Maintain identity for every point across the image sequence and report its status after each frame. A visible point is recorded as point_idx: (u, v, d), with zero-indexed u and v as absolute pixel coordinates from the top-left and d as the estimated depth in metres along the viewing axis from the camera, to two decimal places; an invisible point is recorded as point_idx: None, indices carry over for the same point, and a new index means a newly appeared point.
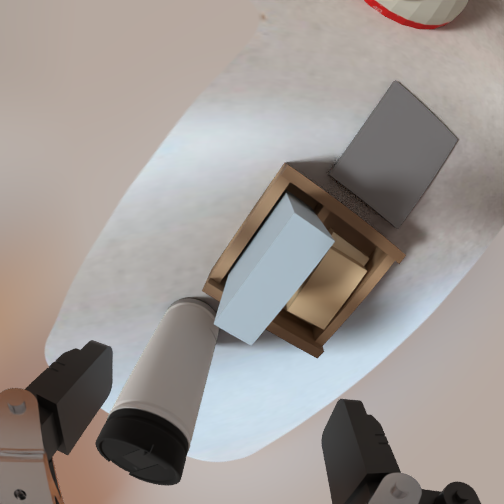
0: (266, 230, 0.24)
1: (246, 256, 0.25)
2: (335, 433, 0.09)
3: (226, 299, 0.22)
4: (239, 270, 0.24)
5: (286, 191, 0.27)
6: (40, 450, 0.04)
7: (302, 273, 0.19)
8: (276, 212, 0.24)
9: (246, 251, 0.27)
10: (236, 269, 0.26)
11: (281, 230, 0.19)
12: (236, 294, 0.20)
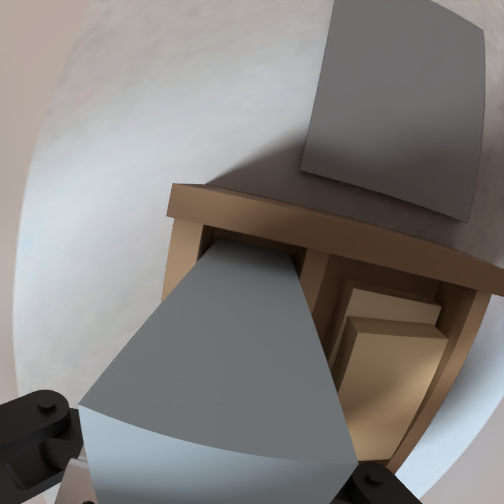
0: None
1: None
2: None
3: None
4: None
5: (217, 243, 0.12)
6: None
7: None
8: None
9: None
10: None
11: None
12: None
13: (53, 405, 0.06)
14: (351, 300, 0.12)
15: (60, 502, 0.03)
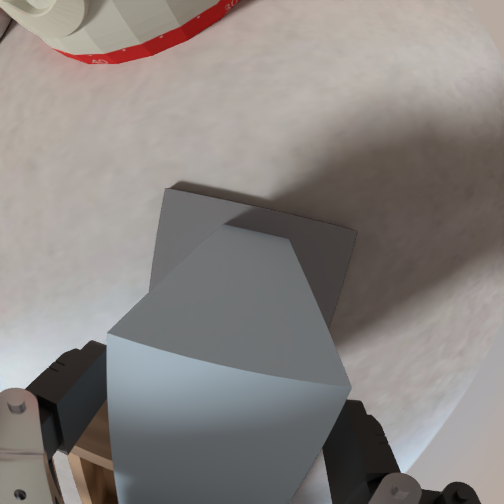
0: None
1: None
2: (335, 433, 0.09)
3: None
4: None
5: (221, 228, 0.13)
6: (40, 450, 0.04)
7: (264, 503, 0.04)
8: None
9: None
10: None
11: None
12: None
13: None
14: None
15: None
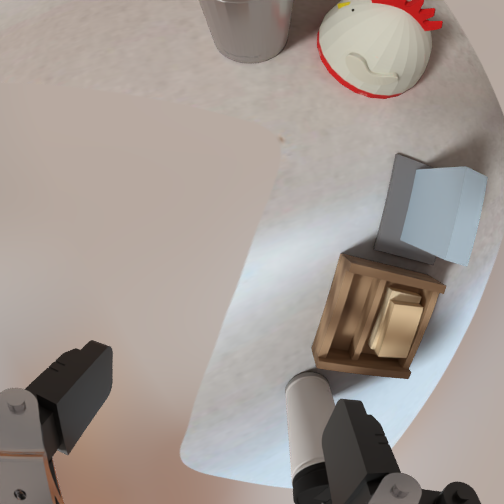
0: (435, 193, 0.29)
1: (426, 218, 0.30)
2: (335, 433, 0.09)
3: (441, 243, 0.26)
4: (429, 227, 0.29)
5: (421, 169, 0.33)
6: (40, 450, 0.04)
7: (480, 202, 0.24)
8: (431, 181, 0.30)
9: (418, 218, 0.32)
10: (421, 231, 0.31)
11: (463, 179, 0.24)
12: (453, 231, 0.25)
13: None
14: (391, 294, 0.35)
15: None
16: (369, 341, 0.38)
